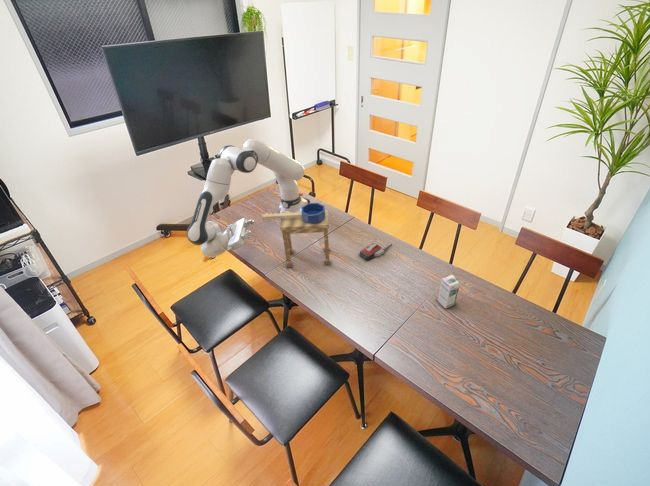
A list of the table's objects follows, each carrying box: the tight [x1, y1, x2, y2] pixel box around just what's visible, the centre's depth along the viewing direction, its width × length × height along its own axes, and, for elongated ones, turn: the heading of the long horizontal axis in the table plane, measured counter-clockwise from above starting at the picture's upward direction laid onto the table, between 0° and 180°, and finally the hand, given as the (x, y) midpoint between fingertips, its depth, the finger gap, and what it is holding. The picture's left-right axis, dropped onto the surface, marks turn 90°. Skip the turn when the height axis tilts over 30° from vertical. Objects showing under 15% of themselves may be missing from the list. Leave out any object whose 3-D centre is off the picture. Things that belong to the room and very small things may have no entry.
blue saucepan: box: [261, 202, 326, 224], centre depth 160 cm, size 30×11×5 cm, turn 96°
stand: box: [279, 208, 331, 268], centre depth 169 cm, size 23×14×26 cm, turn 96°
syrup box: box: [437, 274, 461, 309], centre depth 147 cm, size 6×6×14 cm
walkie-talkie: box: [359, 242, 393, 261], centre depth 180 cm, size 9×4×20 cm
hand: (251, 226), depth 162 cm, fingers open, 8 cm apart
